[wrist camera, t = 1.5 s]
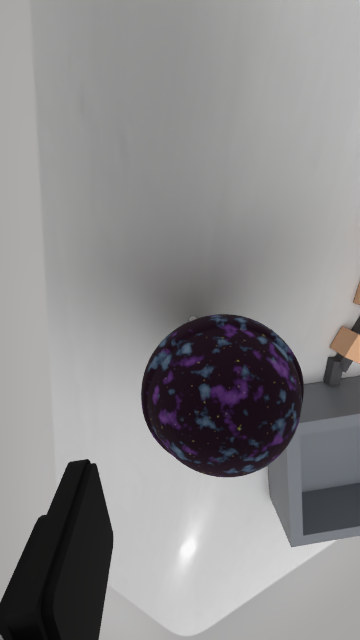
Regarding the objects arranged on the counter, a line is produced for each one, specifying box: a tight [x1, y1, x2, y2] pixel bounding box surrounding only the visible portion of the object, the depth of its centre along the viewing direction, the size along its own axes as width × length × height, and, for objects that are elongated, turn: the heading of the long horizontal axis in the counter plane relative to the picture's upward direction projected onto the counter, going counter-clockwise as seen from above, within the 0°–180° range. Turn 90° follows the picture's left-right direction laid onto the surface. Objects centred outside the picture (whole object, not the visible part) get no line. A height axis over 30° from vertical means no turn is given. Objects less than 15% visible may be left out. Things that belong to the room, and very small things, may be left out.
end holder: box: [268, 376, 360, 547], centre depth 26 cm, size 12×12×5 cm
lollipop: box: [141, 314, 304, 477], centre depth 17 cm, size 7×7×15 cm
